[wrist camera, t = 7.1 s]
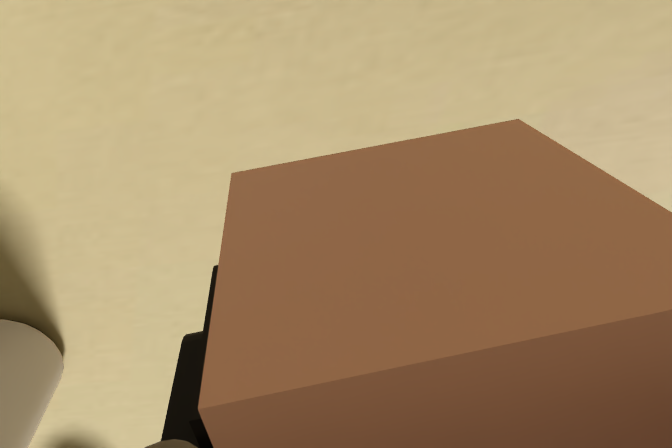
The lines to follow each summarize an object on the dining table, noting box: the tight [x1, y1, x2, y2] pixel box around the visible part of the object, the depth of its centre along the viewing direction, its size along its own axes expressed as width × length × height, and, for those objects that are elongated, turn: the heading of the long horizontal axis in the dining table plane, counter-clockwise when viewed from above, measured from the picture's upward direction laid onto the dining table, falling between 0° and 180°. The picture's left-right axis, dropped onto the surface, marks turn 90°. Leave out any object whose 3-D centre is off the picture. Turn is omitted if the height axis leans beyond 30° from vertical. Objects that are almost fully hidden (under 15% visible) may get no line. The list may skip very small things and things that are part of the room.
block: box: [198, 119, 672, 448], centre depth 9 cm, size 6×6×6 cm
